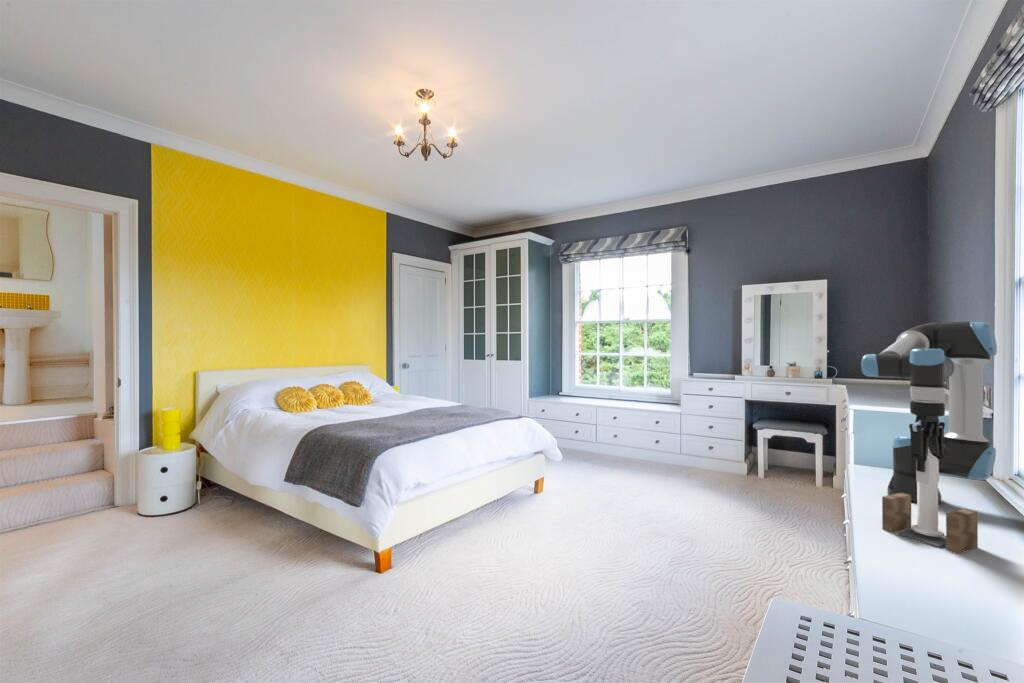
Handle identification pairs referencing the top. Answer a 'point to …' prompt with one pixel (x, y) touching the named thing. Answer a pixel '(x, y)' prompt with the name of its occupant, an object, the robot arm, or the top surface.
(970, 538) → the bookend
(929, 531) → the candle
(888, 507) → the bookend
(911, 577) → the top surface
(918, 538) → the felt pad
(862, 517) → the top surface
